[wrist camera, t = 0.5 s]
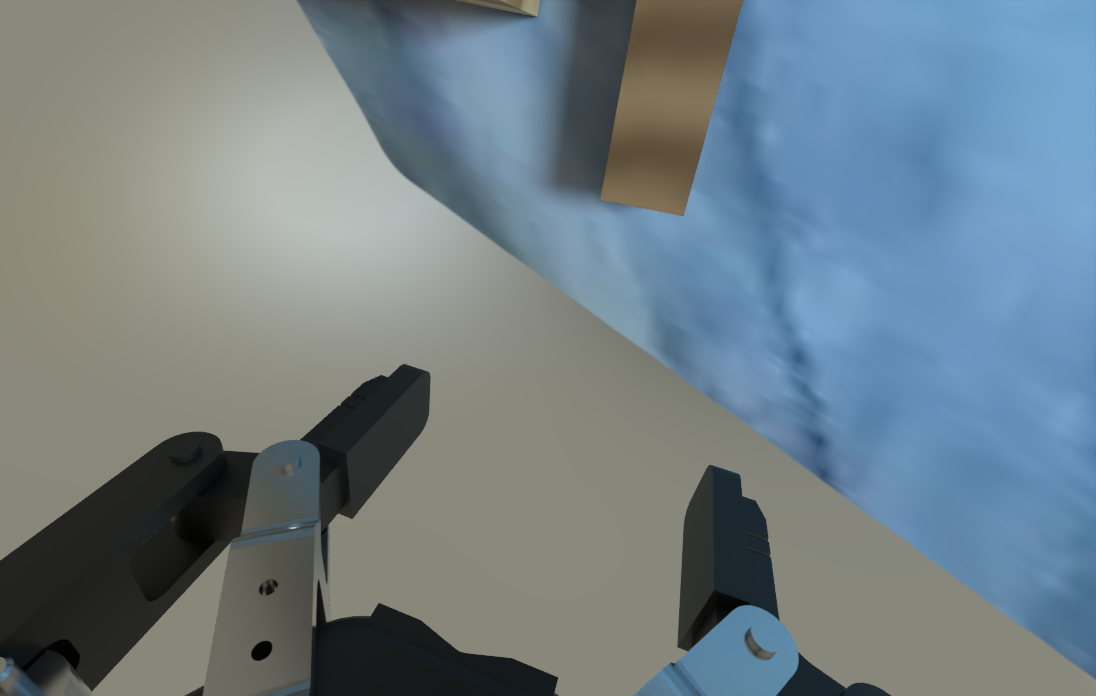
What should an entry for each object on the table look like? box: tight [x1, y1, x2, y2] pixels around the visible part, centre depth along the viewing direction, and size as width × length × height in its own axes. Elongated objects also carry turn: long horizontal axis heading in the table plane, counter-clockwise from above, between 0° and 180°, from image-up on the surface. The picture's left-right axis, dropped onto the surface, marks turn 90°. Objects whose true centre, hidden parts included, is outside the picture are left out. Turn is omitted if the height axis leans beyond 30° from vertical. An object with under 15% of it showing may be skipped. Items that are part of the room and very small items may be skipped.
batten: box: [600, 0, 743, 216], centre depth 25 cm, size 18×5×5 cm, turn 172°
